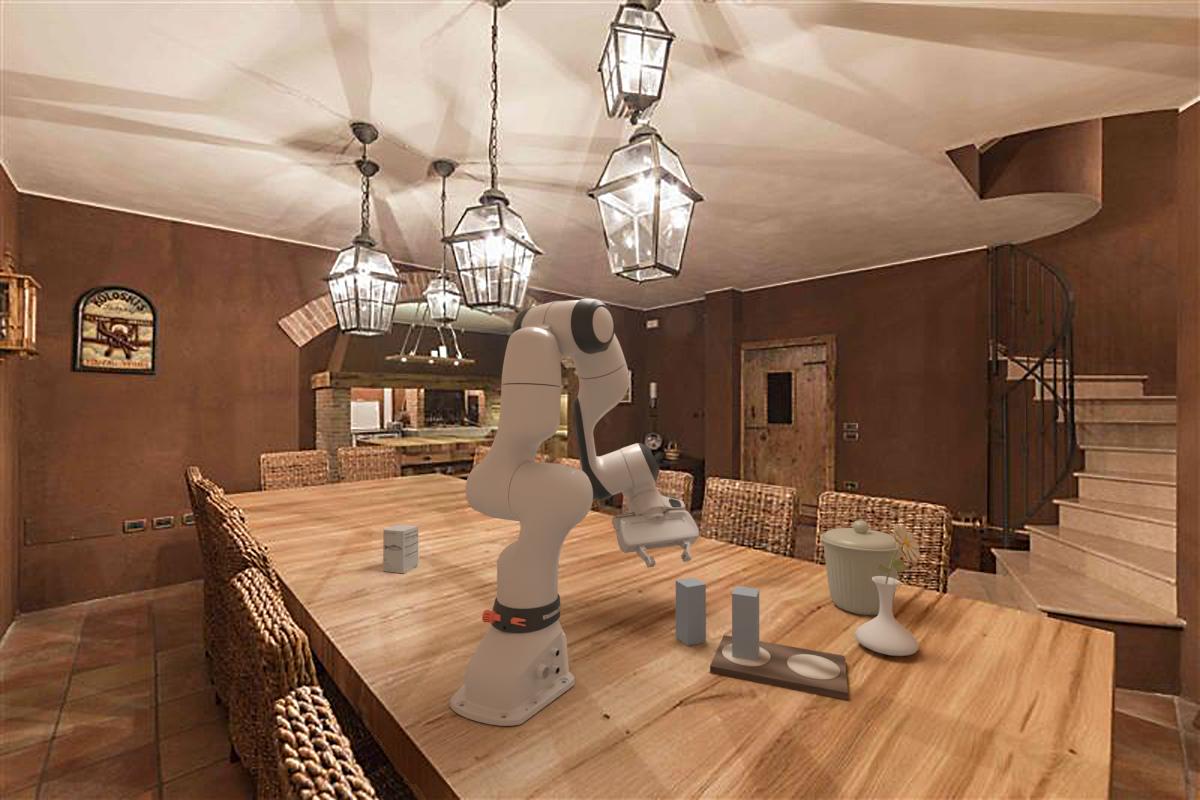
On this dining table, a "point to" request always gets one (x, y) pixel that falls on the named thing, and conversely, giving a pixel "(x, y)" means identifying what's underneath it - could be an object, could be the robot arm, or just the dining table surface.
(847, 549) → the canister
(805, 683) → the board
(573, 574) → the dining table surface
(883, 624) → the flower in vase
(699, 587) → the gray rectangular block
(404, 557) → the supplement box
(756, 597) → the pin
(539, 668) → the robot arm
